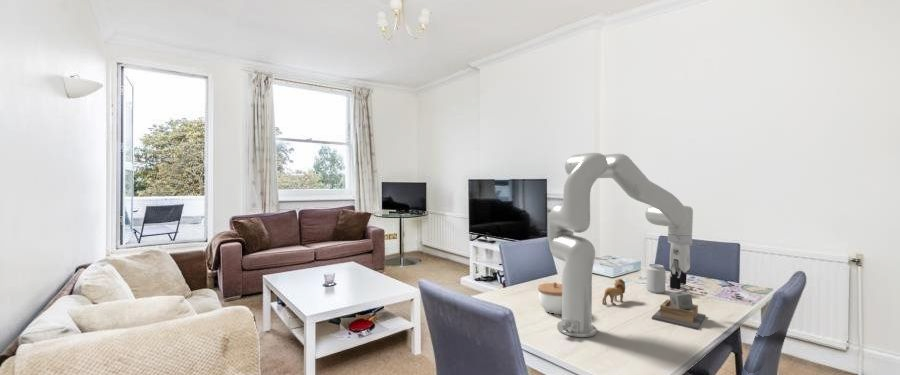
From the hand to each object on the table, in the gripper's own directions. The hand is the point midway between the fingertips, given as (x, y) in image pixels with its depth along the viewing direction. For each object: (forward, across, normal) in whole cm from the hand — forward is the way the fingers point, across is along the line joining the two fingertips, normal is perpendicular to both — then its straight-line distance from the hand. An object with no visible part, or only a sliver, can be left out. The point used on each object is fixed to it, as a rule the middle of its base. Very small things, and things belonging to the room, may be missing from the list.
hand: (678, 286), depth 136 cm
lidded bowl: (+13, -23, +36) cm, 45 cm away
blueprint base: (+12, +1, 0) cm, 12 cm away
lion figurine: (+12, +3, +23) cm, 27 cm away
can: (+12, +31, +14) cm, 36 cm away
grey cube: (+8, 0, -1) cm, 8 cm away
